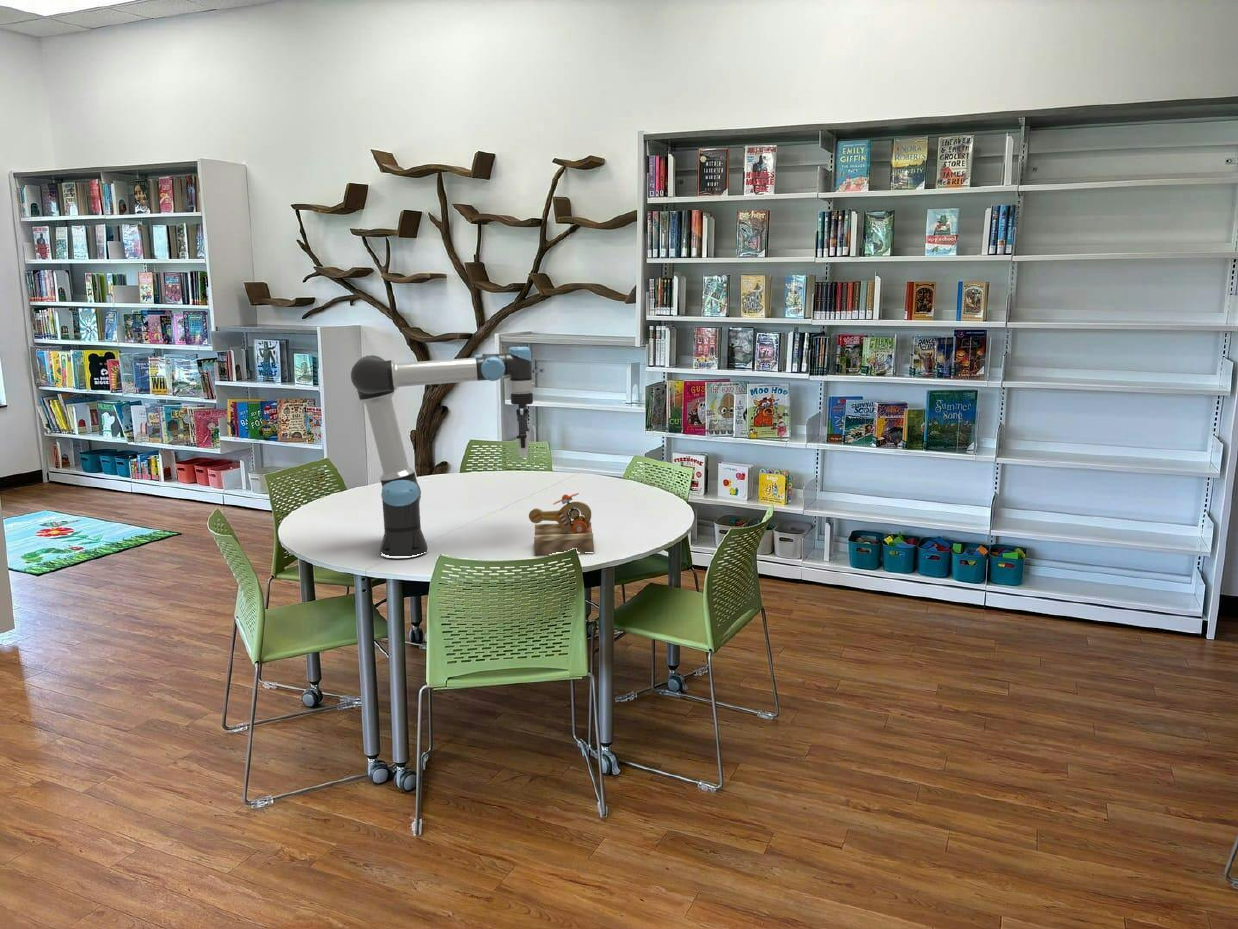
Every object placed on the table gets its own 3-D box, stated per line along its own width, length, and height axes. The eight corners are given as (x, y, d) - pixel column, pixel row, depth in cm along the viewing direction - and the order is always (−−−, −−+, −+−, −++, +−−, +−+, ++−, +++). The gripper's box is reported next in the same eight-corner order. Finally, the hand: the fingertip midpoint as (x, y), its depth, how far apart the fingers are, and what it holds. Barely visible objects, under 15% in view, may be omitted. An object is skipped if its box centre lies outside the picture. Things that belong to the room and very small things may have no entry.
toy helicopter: (590, 536, 305) (588, 495, 303) (527, 536, 307) (525, 495, 305) (593, 530, 313) (592, 489, 311) (532, 529, 315) (530, 489, 313)
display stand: (534, 556, 302) (534, 536, 301) (535, 542, 318) (534, 524, 317) (593, 553, 304) (593, 534, 302) (591, 540, 319) (591, 521, 318)
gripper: (531, 396, 308) (534, 459, 312) (533, 388, 332) (535, 447, 336) (508, 396, 307) (511, 460, 311) (512, 388, 332) (514, 448, 336)
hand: (524, 453), depth 324 cm, fingers open, 13 cm apart
